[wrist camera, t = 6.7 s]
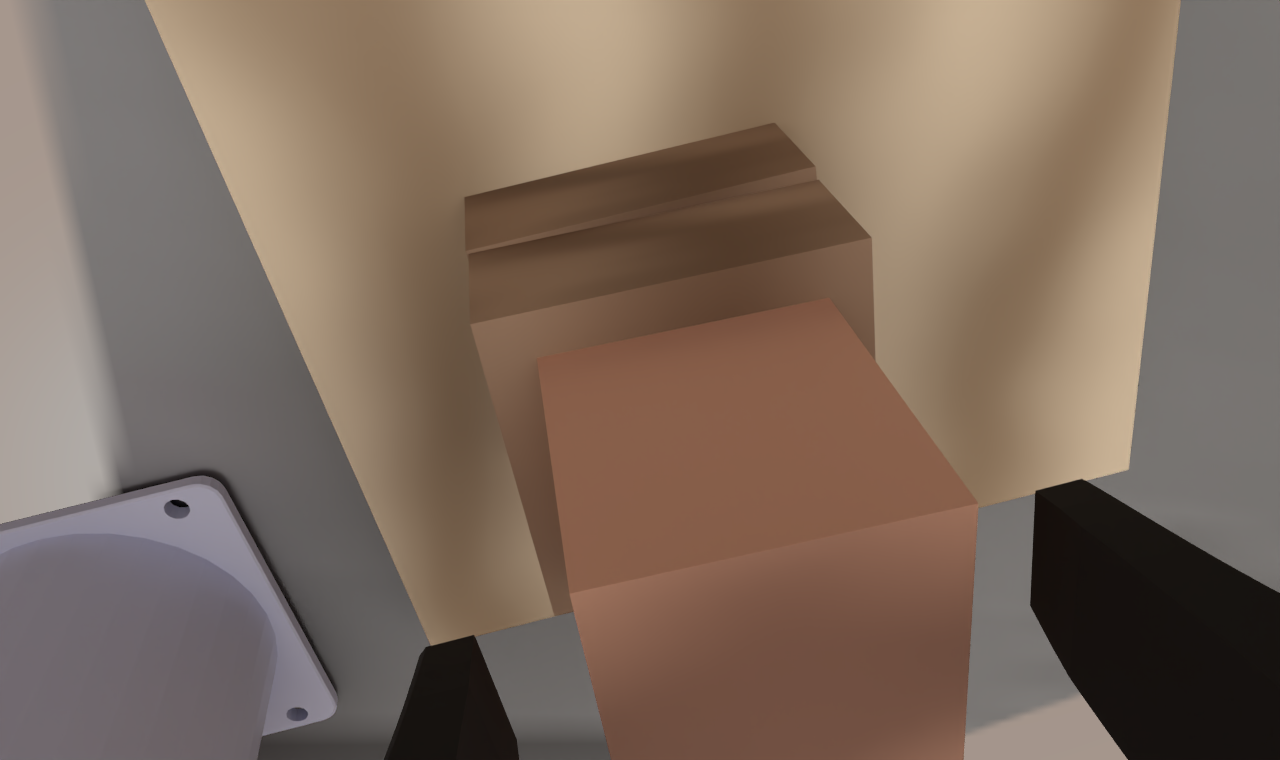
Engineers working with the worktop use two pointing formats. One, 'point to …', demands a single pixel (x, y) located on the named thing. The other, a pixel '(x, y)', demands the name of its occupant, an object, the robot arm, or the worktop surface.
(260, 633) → the robot arm
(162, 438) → the worktop surface
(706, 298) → the slab high
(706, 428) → the block
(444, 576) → the board
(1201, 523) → the worktop surface
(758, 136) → the slab low
